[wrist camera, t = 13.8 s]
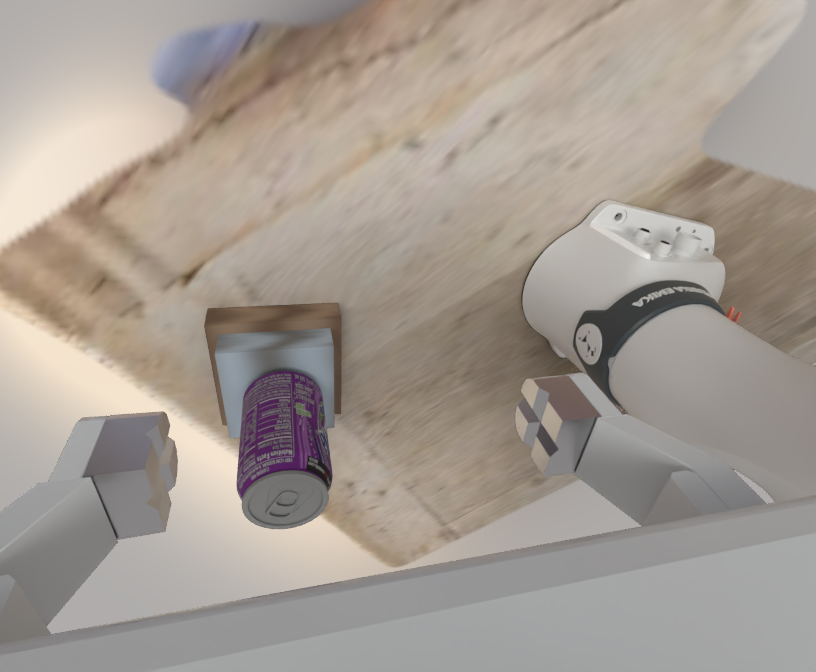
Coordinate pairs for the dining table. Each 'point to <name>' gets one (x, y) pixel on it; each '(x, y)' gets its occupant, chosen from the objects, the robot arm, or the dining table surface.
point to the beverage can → (283, 451)
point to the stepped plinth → (273, 323)
